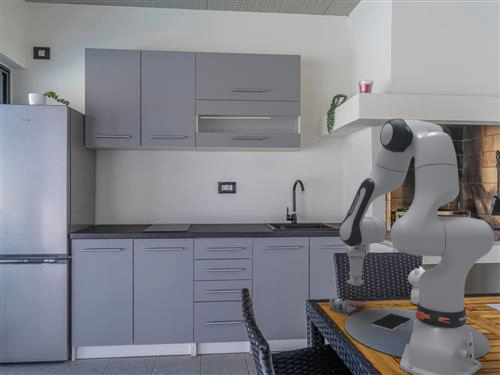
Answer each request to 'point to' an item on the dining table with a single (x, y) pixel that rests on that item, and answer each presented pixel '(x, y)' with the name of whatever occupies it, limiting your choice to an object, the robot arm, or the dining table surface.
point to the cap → (353, 280)
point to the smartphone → (391, 322)
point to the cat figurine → (415, 284)
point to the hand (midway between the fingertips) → (356, 283)
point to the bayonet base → (345, 306)
